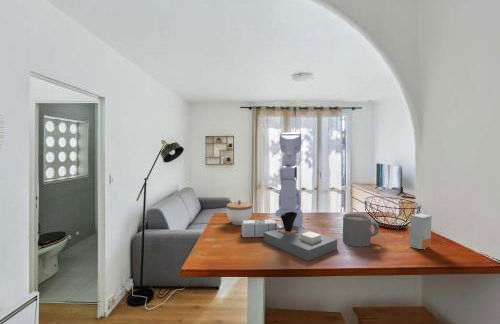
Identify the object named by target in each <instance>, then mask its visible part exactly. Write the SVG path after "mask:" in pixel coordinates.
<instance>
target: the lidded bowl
mask: <svg viewBox="0 0 500 324" xmlns="http://www.w3.org/2000/svg"><path fill="white" fill-rule="evenodd" d="M225 208H226V214H227V218H228V219H229V222H231V224H232V225H235V226H242V220H251V217H252V213H253V203H251V202H247V201H242V200H241V199H240V200H239V199H238V201H233V202H228V203H227V204H226V207H225Z"/></svg>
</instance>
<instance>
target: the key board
mask: <svg viewBox="0 0 500 324" xmlns="http://www.w3.org/2000/svg"><path fill="white" fill-rule="evenodd" d="M283 229H285V228H284V227H282V228H278V229H275V230H271V231H267V232H264V237H263V242H264V243H266V244H269V245H271V246H273V247H275V248H277V249H280V250H282V251H285V252H287V253H289V254H292V256H293V255H294V256H296V257H298V258H300V259H303V260H305V261H308V262H310V261H313V260H314V259H317V258H319V257H321V256H323V255H326V254H329V253H330V252H333V251H335V250H337V249H338V239H336V238H334V237H331V236H328V235H326V234H321V233H318V232H315V231H312V230H308V229H307V228H300V227H297V226H294V225H293V226H292V230H295V231H297V233H296V234H292V235H289V236H288V235H285V234H282V233H280V232H279V230H283ZM309 231H310V232H313V233H316V234H320V235H321V241H320V242H318V243H315V244H310V243H307V242H304V241H301V234H303V233H306V232H309Z"/></svg>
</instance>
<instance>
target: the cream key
mask: <svg viewBox="0 0 500 324" xmlns="http://www.w3.org/2000/svg"><path fill="white" fill-rule="evenodd" d="M310 231H311V230H309V232H306V233H303V234H301V241H304V242H307V243H310V244H315V243H318V242H320V241H321V235H320V234H321V233H319V234H316V233H317V232H316V233H313V232H314V231H312V232H310Z"/></svg>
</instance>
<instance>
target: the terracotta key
mask: <svg viewBox="0 0 500 324" xmlns="http://www.w3.org/2000/svg"><path fill="white" fill-rule="evenodd" d="M279 232H280V233H282V234H285V235H288V236H289V235H292V234H296V233H297V231H295V230H291V231H290V232H288V231H285V229H283V230H279Z"/></svg>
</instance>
